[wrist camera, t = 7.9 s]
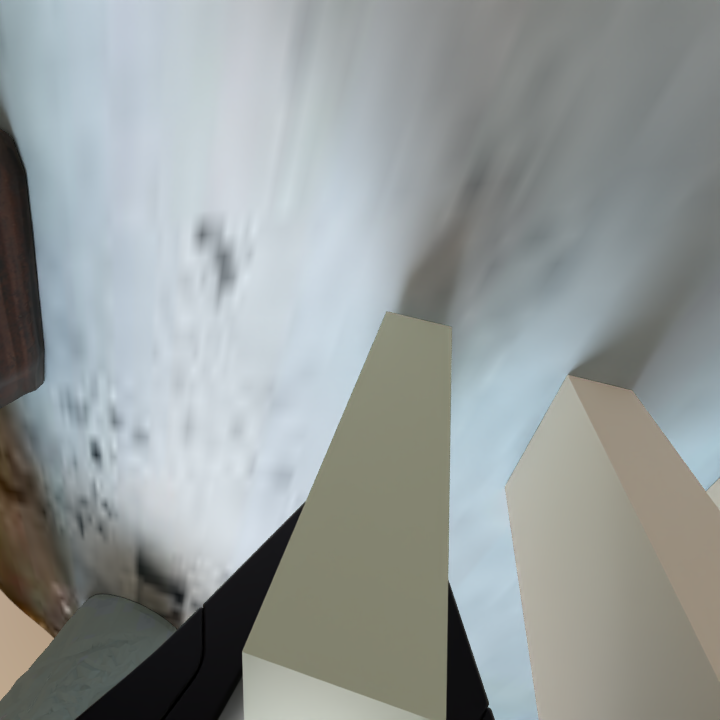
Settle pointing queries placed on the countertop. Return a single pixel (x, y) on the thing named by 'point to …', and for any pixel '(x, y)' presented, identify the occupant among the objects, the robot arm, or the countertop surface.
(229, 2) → the countertop surface
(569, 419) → the domino
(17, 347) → the manual coffee grinder
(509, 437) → the countertop surface
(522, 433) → the countertop surface
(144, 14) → the countertop surface
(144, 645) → the grey-green tapered cup
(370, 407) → the domino
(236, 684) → the robot arm
